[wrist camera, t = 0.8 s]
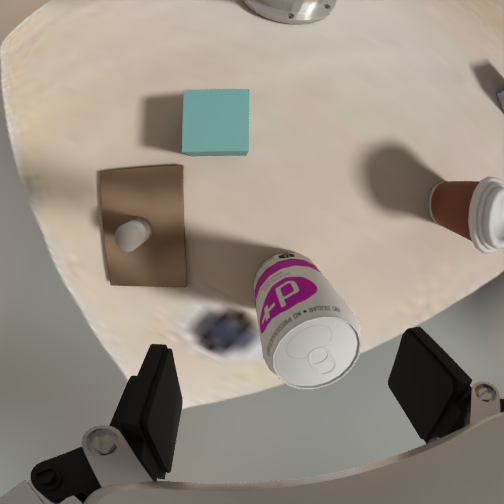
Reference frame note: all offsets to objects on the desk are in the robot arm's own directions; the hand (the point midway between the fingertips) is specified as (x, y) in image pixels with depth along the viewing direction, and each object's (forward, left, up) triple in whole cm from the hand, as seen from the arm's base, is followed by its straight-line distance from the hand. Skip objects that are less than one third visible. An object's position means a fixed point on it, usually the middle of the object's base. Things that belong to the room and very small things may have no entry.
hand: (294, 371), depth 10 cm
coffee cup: (-5, +27, -24) cm, 36 cm away
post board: (-1, -13, -23) cm, 27 cm away
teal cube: (-12, -4, -23) cm, 27 cm away
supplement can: (+6, +4, -24) cm, 24 cm away
